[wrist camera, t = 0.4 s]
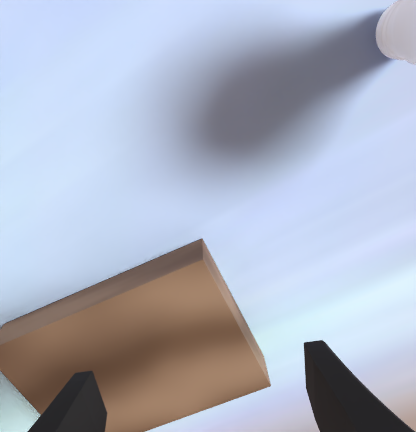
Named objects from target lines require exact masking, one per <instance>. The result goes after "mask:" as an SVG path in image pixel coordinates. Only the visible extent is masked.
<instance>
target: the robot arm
mask: <svg viewBox="0 0 416 432" xmlns="http://www.w3.org/2000/svg"><path fill="white" fill-rule="evenodd" d="M304 355H305V375H306V389H307V393H308V396H309V400H310V403H311V407H312V410H313V413H314V417H315V420H316V423H317V425H318V428H319V430H320V432H415V431H414V430H412V429H411V428H410V427H409V426H408V425H406V424H405V423H404V422H403V421H402V420H401V419H399V418H398V417H397V416H396V415H395V414H394V413H393V412H392V411H391V410H389V409H388V408H387V407H386V406H385V405H384V404H383V403H382V402H381V401H380V400H379V399H378V398H377V397H375V396H374V395H373V394H372V393H371V392H370V391H369V390H368V389H367V388H366V387H365V386H364V385H363V384H362V383H361V382H360V381H359V380H358V379H357V378H356V377H355V375H354V374H353V373H352V372H351V371H350V370H349V369H348V368H347V367H346V366H345V365H344V364H343V363H342V361H341V360H340V359H339V358H338V357H337V356H336V355H335V353H334V352H333V351H332V350H331V349H330V348H329V346H328V345H327V344H326V343H325V342H324V341H322V340H320V341H313V342H305V343H304ZM106 420H107V411H106V408H105V405H104V402H103V399H102V396H101V394H100V391H99V388H98V385H97V382H96V379H95V376H94V373H93V371H85V372H78V373H75V374H74V375H73V376H72V377H71V378H70V380H69V381H68V382H67V383H66V385H65V386H64V387H63V388H62V390H61V391H60V392H59V393H58V395H57V396H56V397H55V399H54V400H53V401H52V402H51V404H50V405H49V406H48V407H47V409H46V410H45V411H44V412H43V414H42V415H41V416H40V417H39V418H38V420H37V421H36V422H35V423H34V425H33V426H32V427H31V428H30V429H29V431H28V432H105V427H106Z"/></svg>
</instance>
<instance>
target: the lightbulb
mask: <svg viewBox="0 0 416 432" xmlns="http://www.w3.org/2000/svg"><path fill="white" fill-rule="evenodd" d="M376 42H377V45H378V47H379V49H380V51H381V52H382V53H383V54H384V55H385V56H387V57H389V58H391V59H397V60H406V61H407V62H408V63H411V64H413V65H416V0H398V1H396V2H395V3H393V4H392V5H390V6H389V7H388V8H387V9H386V10H385V11H384V12H383V14H382V15H381V17H380V19H379V21H378V24H377V28H376Z"/></svg>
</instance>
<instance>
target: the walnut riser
mask: <svg viewBox="0 0 416 432" xmlns="http://www.w3.org/2000/svg"><path fill="white" fill-rule="evenodd" d="M0 371H1V372H2V373H3V374H4V375H5V376H6V377H7V379H8V380H9V381H10V382H11V383H12V384H13V385H14V386H15V387H16V388H17V389H18V390H19V392H20V393H21V394H22V395H23V396H24V397H25V398H26V399H27V400H28V401H29V402H30V403H31V405H32V406H33V407H34V408H35V409H36V410H37V411H38V412H39V413H40V414H41V415H42V414H43V412H44V411H45V410H46V409H47V407H48V406H49V405H50V404H51V402H52V401H53V400H54V399H55V397H56V396H57V395H58V393H59V392H60V391H61V390H62V388H63V387H64V386H65V385H66V383H67V382H68V381H69V380H70V378H71V377H72V376H73V375H74V374H75V373H78V372H85V371H93V373H94V376H95V379H96V382H97V385H98V388H99V391H100V394H101V396H102V399H103V402H104V405H105V408H106V411H107V420H106V427H105V432H145V431H147V430H150V429H153V428H156V427H159V426H161V425H164V424H167V423H170V422H172V421H175V420H178V419H181V418H184V417H186V416H189V415H192V414H195V413H197V412H200V411H203V410H206V409H209V408H211V407H214V406H217V405H220V404H222V403H225V402H228V401H231V400H233V399H236V398H239V397H242V396H245V395H247V394H250V393H253V392H256V391H258V390H261V389H264V388H267V387H270V386H271V384H270V380H269V376H268V372H267V368H266V363H265V359H264V356H263V354H262V352H261V350H260V348H259V346H258V344H257V342H256V340H255V338H254V337H253V335H252V333H251V331H250V329H249V327H248V325H247V323H246V321H245V319H244V317H243V316H242V314H241V312H240V310H239V308H238V306H237V304H236V302H235V300H234V298H233V296H232V294H231V293H230V291H229V289H228V287H227V285H226V283H225V281H224V279H223V277H222V275H221V273H220V272H219V270H218V268H217V266H216V264H215V262H214V260H213V258H212V256H211V254H210V252H209V250H208V249H207V247H206V245H205V243H204V241H203V239H200V240H198V241H195V242H193V243H191V244H188V245H186V246H184V247H181V248H179V249H177V250H174V251H172V252H170V253H167V254H165V255H163V256H160V257H158V258H156V259H153V260H151V261H149V262H147V263H144V264H142V265H140V266H137V267H135V268H133V269H130V270H128V271H126V272H123V273H121V274H119V275H116V276H114V277H112V278H109V279H107V280H105V281H102V282H100V283H98V284H96V285H93V286H91V287H89V288H86V289H84V290H82V291H79V292H77V293H75V294H72V295H70V296H68V297H65V298H63V299H61V300H58V301H56V302H54V303H51V304H49V305H47V306H45V307H42V308H40V309H38V310H35V311H33V312H31V313H28V314H26V315H24V316H21V317H19V318H17V319H14V320H12V321H10V322H7V323H5V324H4V325H3V327H2V328H1V329H0Z"/></svg>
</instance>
